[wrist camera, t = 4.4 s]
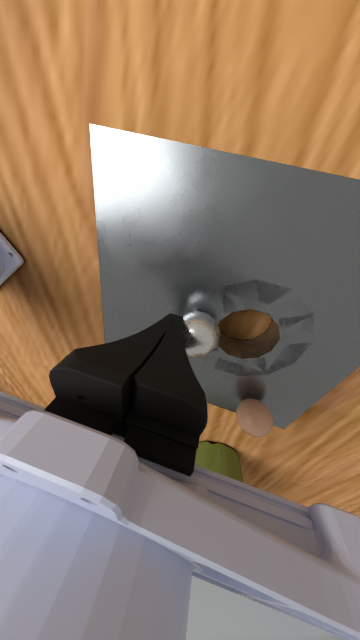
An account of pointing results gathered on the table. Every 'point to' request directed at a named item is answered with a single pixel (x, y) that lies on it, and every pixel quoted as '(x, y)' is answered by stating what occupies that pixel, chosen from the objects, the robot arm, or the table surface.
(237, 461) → the plant pot
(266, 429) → the terracotta ball
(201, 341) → the steel ball
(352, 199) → the hole plate
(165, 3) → the table surface
